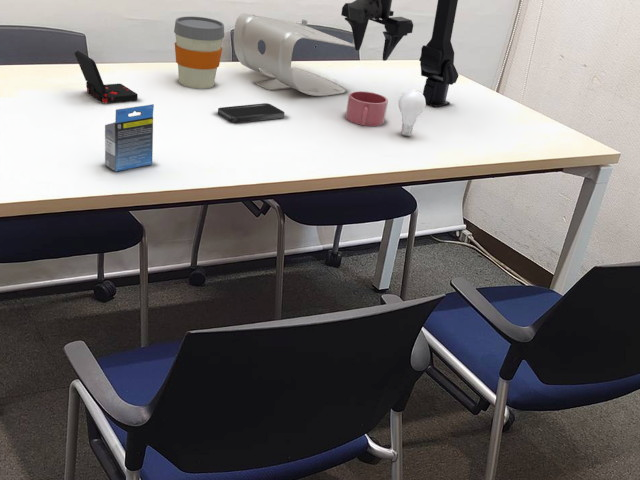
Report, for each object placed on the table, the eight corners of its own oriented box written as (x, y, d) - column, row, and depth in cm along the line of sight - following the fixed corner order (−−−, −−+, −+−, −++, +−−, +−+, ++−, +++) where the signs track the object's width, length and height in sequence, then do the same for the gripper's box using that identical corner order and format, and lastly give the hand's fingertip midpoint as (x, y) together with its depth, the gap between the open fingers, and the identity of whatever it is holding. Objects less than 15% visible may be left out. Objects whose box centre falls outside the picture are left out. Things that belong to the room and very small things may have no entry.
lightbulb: (417, 142, 208) (427, 95, 202) (391, 137, 209) (399, 91, 202) (419, 134, 213) (429, 88, 207) (394, 129, 214) (402, 84, 208)
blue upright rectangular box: (141, 158, 178) (143, 98, 172) (153, 165, 176) (154, 104, 169) (104, 165, 173) (104, 103, 166) (115, 172, 171) (115, 109, 164)
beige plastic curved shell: (228, 73, 238) (232, 13, 229) (294, 66, 252) (300, 9, 243) (288, 101, 223) (295, 38, 214) (355, 92, 236) (364, 32, 228)
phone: (216, 108, 207) (268, 102, 215) (215, 112, 208) (267, 107, 216) (234, 118, 202) (286, 113, 210) (233, 123, 203) (286, 117, 211)
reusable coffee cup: (230, 85, 229) (235, 25, 220) (200, 93, 219) (204, 31, 211) (192, 73, 234) (195, 14, 225) (161, 81, 224) (164, 19, 216)
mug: (347, 110, 222) (350, 89, 219) (385, 117, 221) (389, 95, 218) (342, 125, 212) (345, 103, 209) (382, 132, 211) (386, 109, 208)
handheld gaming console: (138, 101, 209) (139, 58, 203) (92, 105, 202) (91, 61, 197) (120, 89, 215) (120, 47, 209) (74, 93, 208) (73, 49, 203)
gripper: (329, -22, 204) (320, 47, 213) (387, -4, 194) (375, 68, 202) (362, -23, 211) (352, 44, 220) (420, -5, 200) (407, 64, 209)
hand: (370, 55), depth 212 cm, fingers open, 9 cm apart
